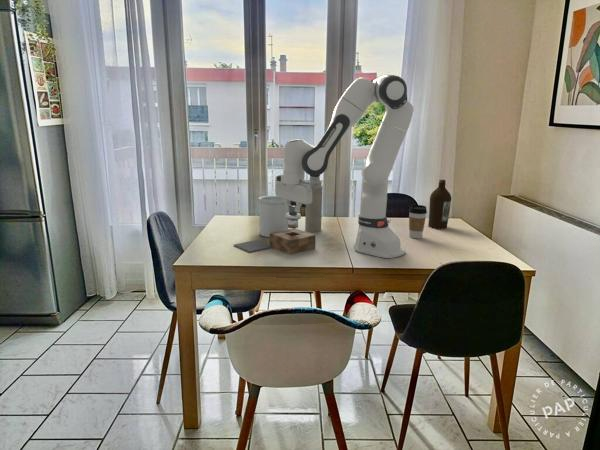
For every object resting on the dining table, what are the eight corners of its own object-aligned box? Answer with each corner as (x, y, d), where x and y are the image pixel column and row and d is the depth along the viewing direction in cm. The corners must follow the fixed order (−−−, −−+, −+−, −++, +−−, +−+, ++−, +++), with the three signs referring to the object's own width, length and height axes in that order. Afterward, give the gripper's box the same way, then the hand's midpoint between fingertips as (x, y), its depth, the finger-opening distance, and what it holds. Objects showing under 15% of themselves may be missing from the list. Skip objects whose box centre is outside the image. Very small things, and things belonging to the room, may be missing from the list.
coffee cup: (427, 237, 207) (430, 206, 203) (419, 240, 201) (422, 209, 197) (411, 233, 212) (414, 203, 209) (403, 236, 206) (405, 206, 203)
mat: (272, 247, 185) (272, 246, 185) (249, 252, 178) (249, 251, 177) (256, 241, 194) (256, 239, 194) (233, 245, 186) (233, 244, 186)
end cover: (303, 227, 184) (304, 206, 181) (292, 229, 179) (292, 208, 177) (293, 224, 188) (294, 204, 186) (282, 226, 184) (282, 206, 182)
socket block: (315, 248, 186) (315, 234, 184) (290, 254, 177) (290, 240, 175) (294, 240, 196) (294, 228, 194) (269, 246, 187) (269, 233, 185)
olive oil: (423, 226, 226) (427, 179, 220) (433, 223, 234) (438, 177, 227) (441, 230, 219) (447, 182, 213) (451, 227, 226) (457, 180, 220)
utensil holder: (269, 228, 216) (270, 194, 212) (295, 232, 209) (295, 197, 205) (252, 234, 204) (252, 198, 200) (278, 239, 197) (279, 202, 193)
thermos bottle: (305, 227, 219) (307, 172, 212) (321, 228, 219) (323, 173, 212) (304, 231, 212) (305, 175, 205) (320, 232, 211) (322, 175, 204)
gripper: (316, 181, 173) (315, 214, 177) (284, 175, 188) (284, 206, 192) (304, 182, 169) (303, 216, 173) (273, 176, 184) (272, 208, 187)
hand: (293, 211), depth 182 cm, fingers closed on end cover, 3 cm apart
